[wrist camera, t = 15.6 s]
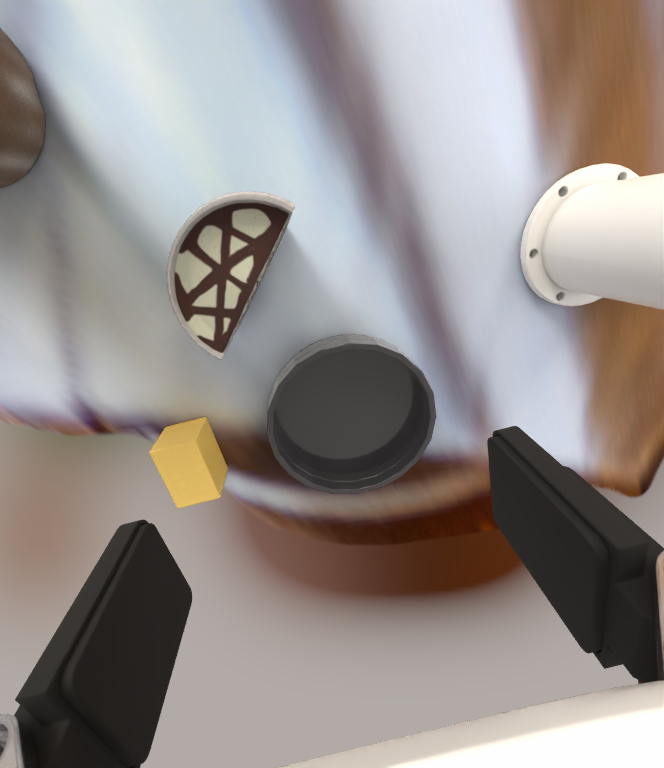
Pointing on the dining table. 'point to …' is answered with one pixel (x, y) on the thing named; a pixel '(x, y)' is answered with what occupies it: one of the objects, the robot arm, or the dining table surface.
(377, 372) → the round cake pan
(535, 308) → the dining table surface
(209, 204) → the food container
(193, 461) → the cheese
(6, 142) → the plant pot
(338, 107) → the dining table surface
